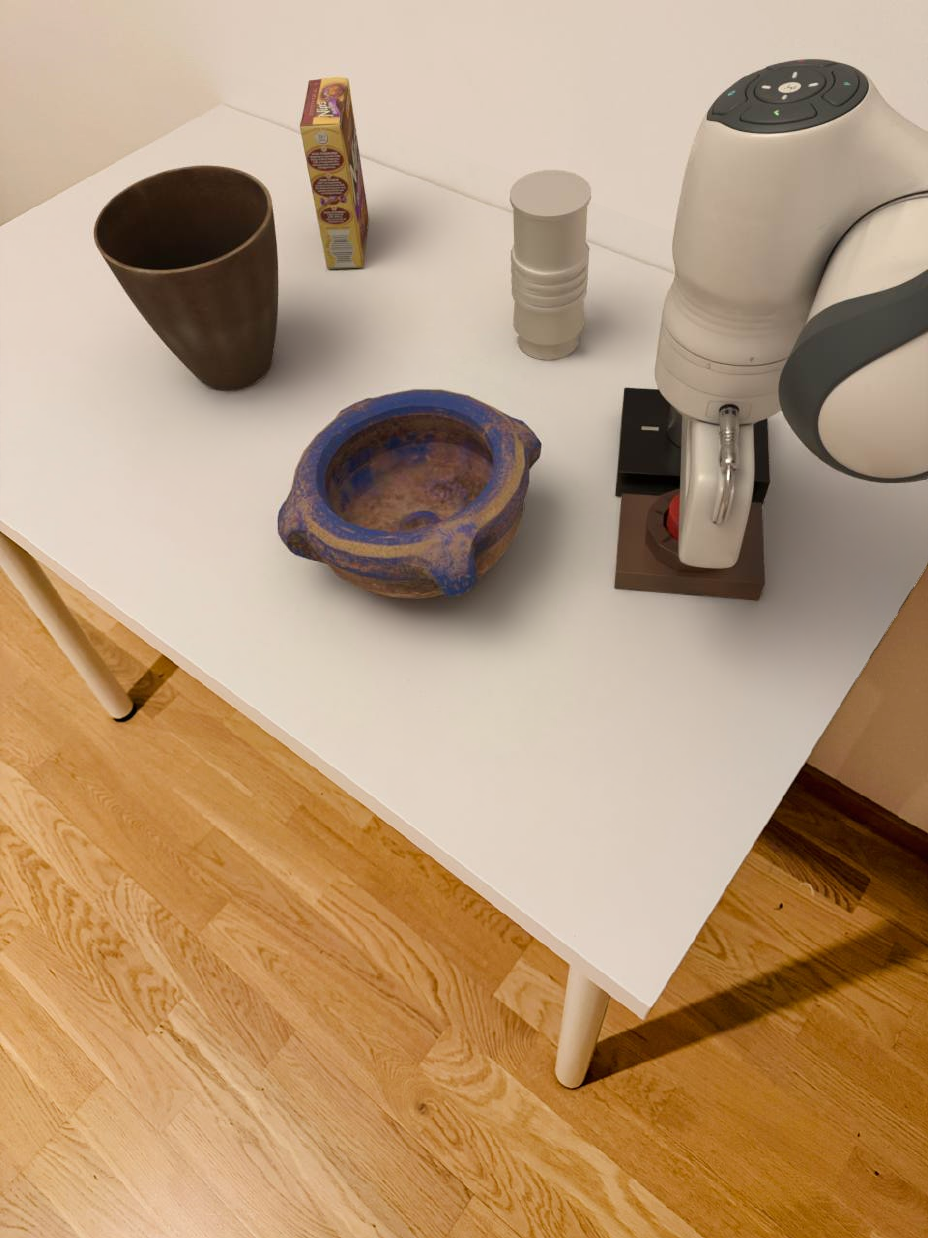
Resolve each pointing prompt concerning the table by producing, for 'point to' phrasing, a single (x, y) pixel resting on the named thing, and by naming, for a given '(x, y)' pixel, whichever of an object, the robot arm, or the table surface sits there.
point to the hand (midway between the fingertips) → (696, 503)
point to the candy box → (335, 171)
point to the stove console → (666, 448)
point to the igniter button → (674, 517)
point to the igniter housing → (655, 559)
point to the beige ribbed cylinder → (549, 261)
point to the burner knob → (675, 426)
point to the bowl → (411, 492)
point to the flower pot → (199, 267)
